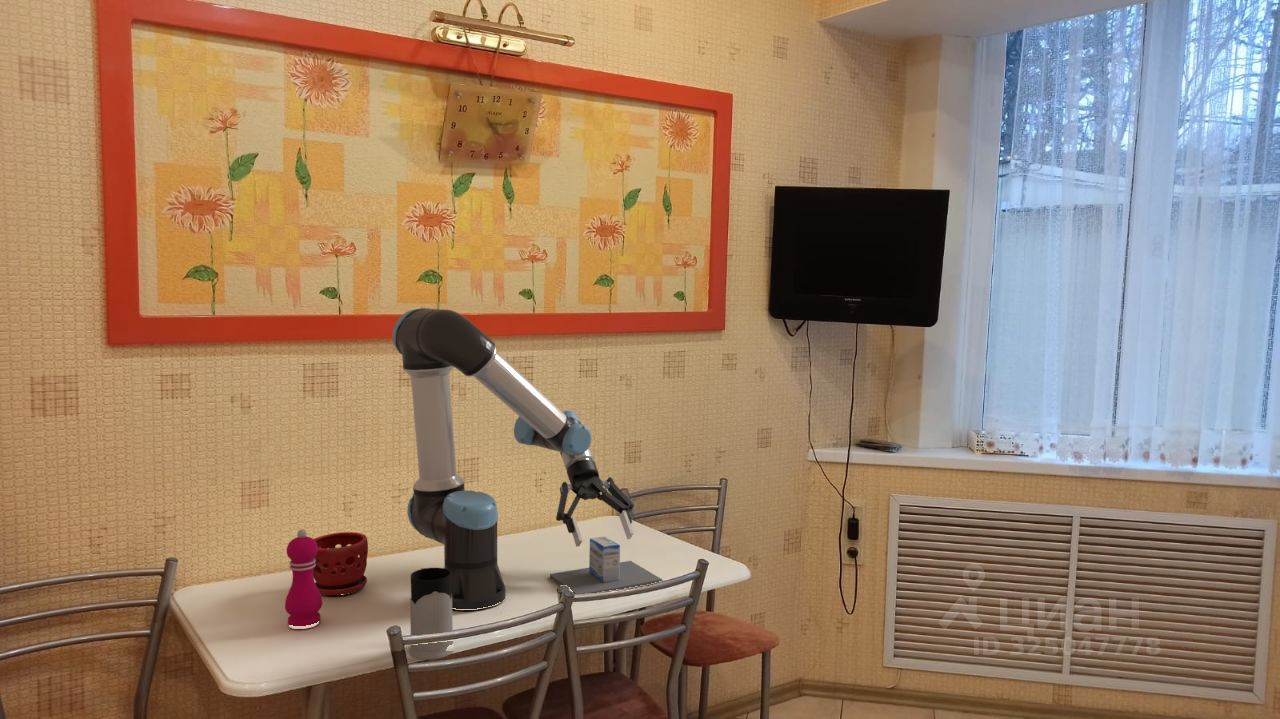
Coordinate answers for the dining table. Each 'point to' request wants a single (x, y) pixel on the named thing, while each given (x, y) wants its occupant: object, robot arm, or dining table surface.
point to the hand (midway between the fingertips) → (605, 540)
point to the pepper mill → (303, 582)
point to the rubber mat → (588, 583)
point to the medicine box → (604, 559)
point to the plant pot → (340, 563)
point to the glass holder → (431, 610)
